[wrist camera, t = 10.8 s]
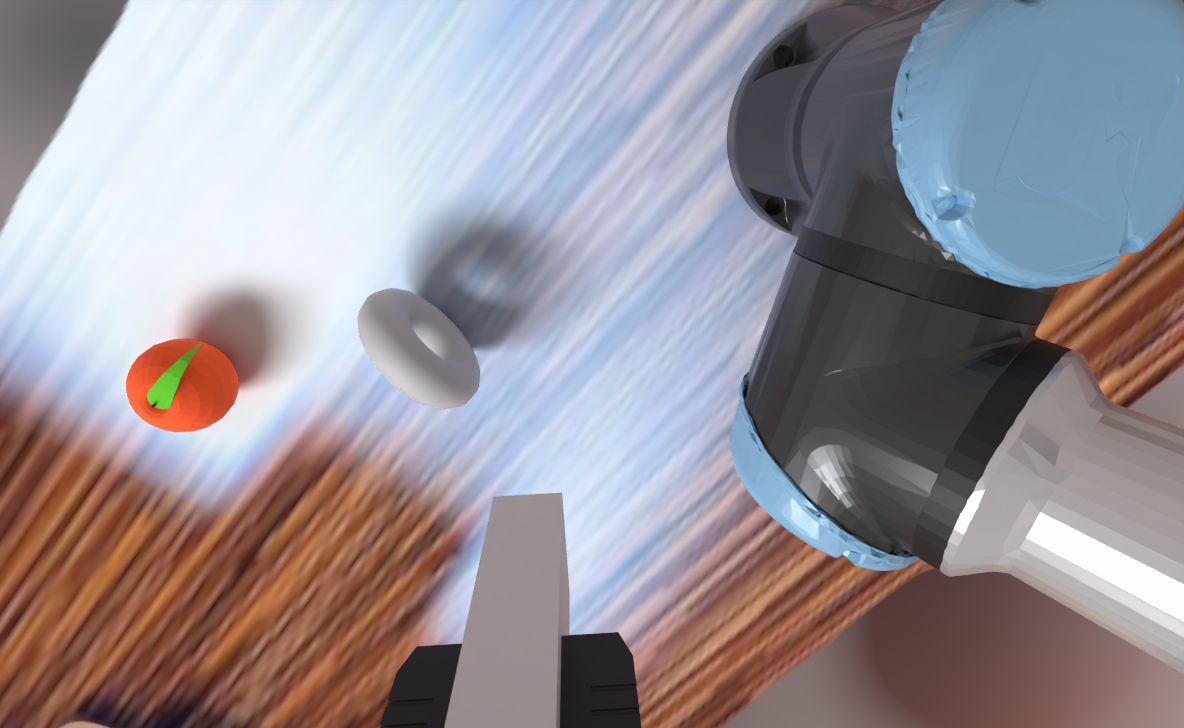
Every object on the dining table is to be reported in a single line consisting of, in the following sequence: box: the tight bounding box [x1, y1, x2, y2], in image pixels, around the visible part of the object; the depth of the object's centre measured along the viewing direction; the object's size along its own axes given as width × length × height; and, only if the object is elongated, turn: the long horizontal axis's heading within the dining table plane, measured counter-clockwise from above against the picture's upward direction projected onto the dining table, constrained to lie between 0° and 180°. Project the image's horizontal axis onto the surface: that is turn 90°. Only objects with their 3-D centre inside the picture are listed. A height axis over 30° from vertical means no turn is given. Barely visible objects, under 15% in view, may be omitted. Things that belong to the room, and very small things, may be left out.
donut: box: [358, 288, 480, 409], centre depth 43 cm, size 10×4×10 cm, turn 41°
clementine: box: [126, 339, 239, 432], centre depth 44 cm, size 8×7×7 cm
